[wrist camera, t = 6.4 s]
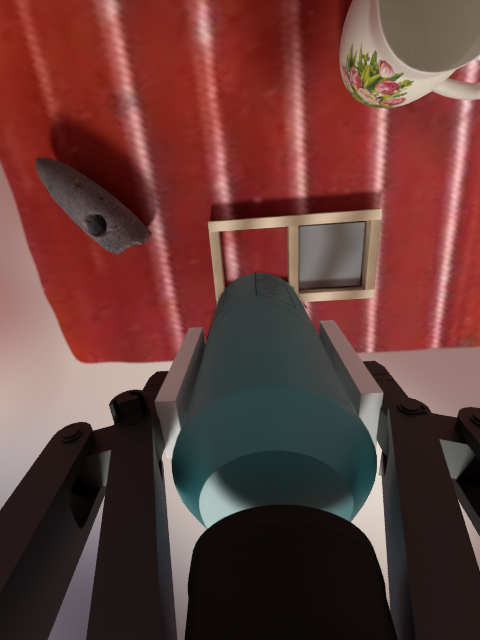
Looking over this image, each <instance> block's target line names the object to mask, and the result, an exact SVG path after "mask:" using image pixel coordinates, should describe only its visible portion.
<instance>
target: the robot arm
mask: <svg viewBox="0 0 480 640" xmlns="http://www.w3.org/2000/svg"><path fill="white" fill-rule="evenodd" d="M320 334H321V335H322V336H321V335H319V337H320V339H321V337H322V339H321V341H322V343H323V345H324V347H326V352H327V354H328V356H329V359H330V361H331V363H332V365H333V367H334V365H335V367H334V369H335V370H336V373H337V375H338V377H339V379H340V381H341V383H342V385H343V387H344V389H345V391H346V393H347V395H348V397H349V399H350V401H351V403H352V405H353V407H354V409H355V411H356V413H357V415H358V416H359V417H360V418H361V420H362V421H363V423H364V425H365V426H366V428H367V429H368V431H369V433H370V436H371V438H372V441H373V443H374V445H375V450H376V445H377V441H378V443H379V445H380V447H381V449H382V455H381V461H380V469H379V475H381V476H382V486H383V503H384V518H385V532H386V549H387V563H388V579H389V595H390V611H391V616H392V620H393V623H394V627H395V631H396V634H397V638H398V640H480V570H479V567H478V564H477V561H476V558H475V554H474V551H473V547H472V544H471V541H470V538H469V534H468V531H467V528H466V525H465V521H464V518H463V515H462V511H461V508H460V505H459V502H460V503H461V505H462V507H463V509H464V510H465V512H466V514H467V515H468V517H469V518H470V520H471V522H472V524H473V526H474V527H475V529H476V531H477V532H478V534H479V536H480V408H474V407H468V408H463V409H461V410H459V413H458V416H457V418H456V417H451V416H444V415H439V414H434V413H431V411H430V409H429V408H428V407H427V406H426V405H425V404H423V403H422V402H420V401H418V400H416V399H412V398H409V397H408V396H407V395H406V394H405V392H404V391H403V390H402V389H401V387H400V386H399V385H398V384H397V382H396V381H395V380H394V379H393V377H392V376H391V375H390V374H389V372H388V371H387V370H386V369H385V367H384V366H382V365H381V364H379V363H377V362H376V361H363V362H362V361H361V359H360V358H359V356H358V355H357V353H356V352H355V350H354V349H353V347H352V346H351V345H350V343H349V342H348V340H347V339H346V337H345V336H344V334H343V333H342V331H341V330H340V328H339V327H338V326H337V324H336V323H335V321H334V320H328V321H320ZM324 343H325V344H324ZM328 347H329V348H328ZM204 348H205V342H204V334H203V327H198V328H189V330H188V332H187V334H186V336H185V338H184V340H183V342H182V345H181V347H180V349H179V351H178V353H177V355H176V357H175V359H174V361H173V364H172V366H171V368H170V370H169V371H160V372H156V373H155V374H154V375H152V376H151V377H150V378H149V380H148V381H147V383H146V386H145V387H144V388H143V390H129V391H126V392H123V393H121V394H119V395H117V396H116V397H114V399H112V400H111V402H110V404H109V406H110V410H111V413H112V417H113V420H114V425H112V426H109V427H106V428H102V429H98V430H94V431H93V430H92V427H91V425H90V424H88V423H86V422H78V423H73V424H70V425H68V426H66V427H64V428H63V429H61V430H59V431H58V432H57V433H56V434H55V435H54V436H53V437H52V438H51V440H50V441H49V443H48V444H47V445H46V447H45V448H44V450H43V451H42V452H41V454H40V455H39V457H38V458H37V460H36V461H35V462H34V464H33V465H32V467H31V468H30V469H29V471H28V472H27V473H26V475H25V476H24V478H23V479H22V480H21V482H20V483H19V485H18V486H17V487H16V489H15V490H14V492H13V493H12V495H11V496H10V497H9V499H8V500H7V502H6V503H5V505H4V506H3V507H2V508H1V510H0V640H47V639H48V637H49V635H50V632H51V630H52V627H53V625H54V622H55V620H56V617H57V615H58V612H59V609H60V607H61V604H62V602H63V599H64V597H65V594H66V592H67V589H68V587H69V584H70V581H71V579H72V576H73V574H74V571H75V569H76V566H77V564H78V561H79V559H80V556H81V554H82V551H83V549H84V546H85V544H86V541H87V539H88V536H89V534H90V531H91V529H92V526H93V523H94V521H95V518H96V516H97V513H98V511H99V508H100V506H101V503H102V501H103V498H104V496H105V500H104V508H103V515H102V523H101V530H100V539H99V547H98V554H97V561H96V570H95V577H94V584H93V592H92V599H91V600H92V601H91V607H90V615H89V622H88V630H87V639H86V640H177V631H176V618H175V607H174V593H173V581H172V568H171V557H170V543H169V531H168V518H167V506H166V493H165V481H164V468H163V462H162V458H161V457H162V454H163V451H164V449H165V451H166V456H167V458H172V455H173V449H174V446H175V443H176V440H177V436H178V434H179V432H180V430H181V429H182V427H183V424H184V420H185V417H186V413H187V410H188V406H189V403H190V400H191V396H192V393H193V389H194V386H195V382H196V379H197V375H198V372H199V368H200V365H201V362H202V357H203V352H204ZM199 357H200V359H199ZM332 358H333V359H332ZM333 361H334V362H333ZM458 500H459V502H458Z"/></svg>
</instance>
